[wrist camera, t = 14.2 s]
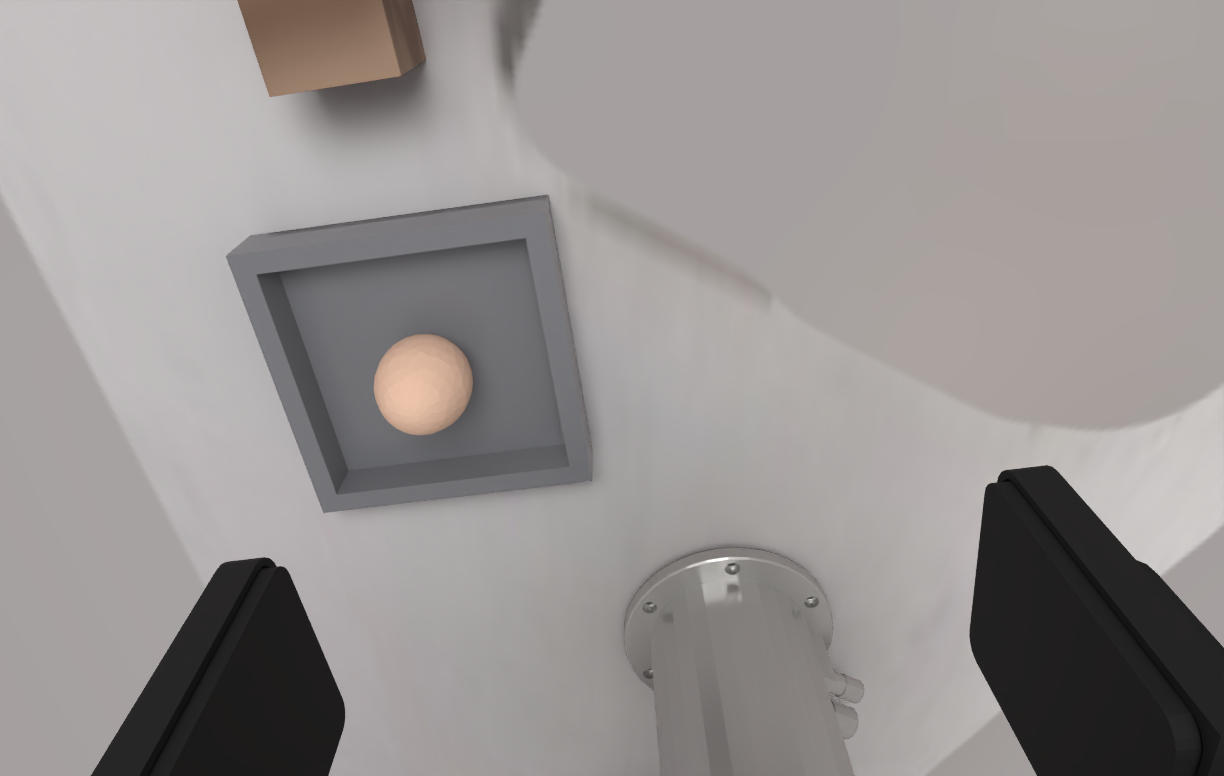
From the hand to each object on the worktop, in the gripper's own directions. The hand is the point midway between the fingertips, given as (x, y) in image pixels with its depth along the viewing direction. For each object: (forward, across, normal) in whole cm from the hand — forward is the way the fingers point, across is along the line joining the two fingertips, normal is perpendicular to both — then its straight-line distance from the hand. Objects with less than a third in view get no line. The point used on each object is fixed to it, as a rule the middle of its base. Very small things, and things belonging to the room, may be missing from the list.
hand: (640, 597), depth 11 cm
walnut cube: (+28, +10, -7) cm, 31 cm away
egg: (+28, +10, +9) cm, 31 cm away
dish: (+28, +10, +9) cm, 31 cm away
